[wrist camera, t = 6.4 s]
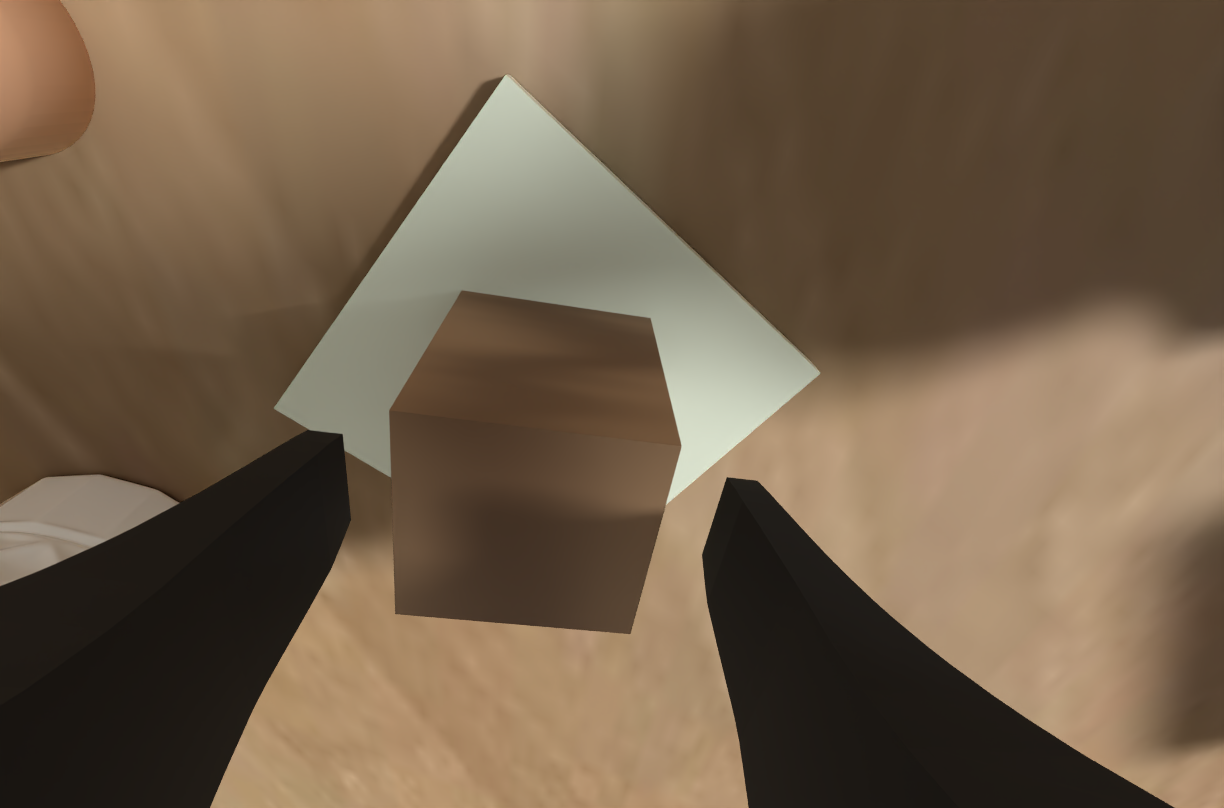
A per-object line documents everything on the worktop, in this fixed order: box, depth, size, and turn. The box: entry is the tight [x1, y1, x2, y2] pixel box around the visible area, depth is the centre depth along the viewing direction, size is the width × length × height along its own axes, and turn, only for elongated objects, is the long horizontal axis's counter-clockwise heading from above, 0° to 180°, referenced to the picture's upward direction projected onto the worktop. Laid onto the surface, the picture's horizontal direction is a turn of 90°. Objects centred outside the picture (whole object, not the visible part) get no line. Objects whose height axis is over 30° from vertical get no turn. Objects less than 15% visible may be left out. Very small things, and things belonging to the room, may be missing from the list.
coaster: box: [274, 75, 821, 504], centre depth 15 cm, size 10×10×1 cm
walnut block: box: [389, 290, 682, 634], centre depth 12 cm, size 4×4×6 cm
